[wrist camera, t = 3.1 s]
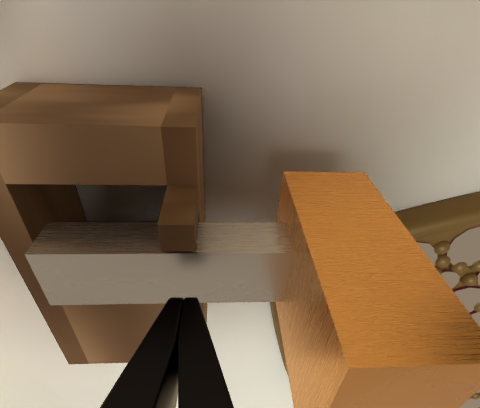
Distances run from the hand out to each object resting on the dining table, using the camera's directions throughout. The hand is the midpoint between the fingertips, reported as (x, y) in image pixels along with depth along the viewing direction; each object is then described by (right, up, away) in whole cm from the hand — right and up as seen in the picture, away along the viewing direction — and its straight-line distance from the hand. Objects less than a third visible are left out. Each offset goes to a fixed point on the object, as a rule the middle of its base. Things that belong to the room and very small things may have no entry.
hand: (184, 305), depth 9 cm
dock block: (-4, +2, +7) cm, 8 cm away
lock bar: (+1, +2, +3) cm, 4 cm away
